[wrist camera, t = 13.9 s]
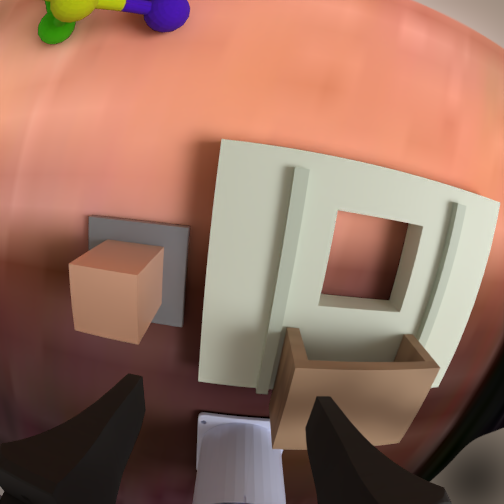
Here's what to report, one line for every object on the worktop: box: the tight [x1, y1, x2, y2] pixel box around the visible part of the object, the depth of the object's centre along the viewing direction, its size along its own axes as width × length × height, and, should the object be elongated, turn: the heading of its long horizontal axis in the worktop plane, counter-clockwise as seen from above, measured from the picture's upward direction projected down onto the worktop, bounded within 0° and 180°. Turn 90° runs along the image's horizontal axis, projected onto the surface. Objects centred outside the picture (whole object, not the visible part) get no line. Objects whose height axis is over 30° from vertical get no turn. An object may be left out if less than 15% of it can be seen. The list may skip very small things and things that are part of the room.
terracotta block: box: [69, 239, 164, 345], centre depth 17 cm, size 4×4×5 cm
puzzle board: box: [198, 139, 500, 394], centre depth 20 cm, size 16×20×3 cm
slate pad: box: [89, 215, 190, 327], centre depth 20 cm, size 7×7×1 cm
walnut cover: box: [269, 327, 440, 450], centre depth 18 cm, size 7×9×4 cm
